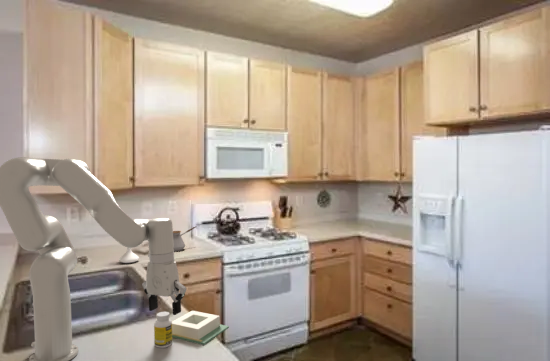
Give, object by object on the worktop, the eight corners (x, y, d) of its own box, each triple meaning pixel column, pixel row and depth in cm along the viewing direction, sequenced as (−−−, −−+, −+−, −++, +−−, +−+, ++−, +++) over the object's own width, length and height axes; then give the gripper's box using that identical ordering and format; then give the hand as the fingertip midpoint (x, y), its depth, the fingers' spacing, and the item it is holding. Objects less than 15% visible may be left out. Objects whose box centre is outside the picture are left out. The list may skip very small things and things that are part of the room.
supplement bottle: (167, 349, 117) (166, 317, 117) (151, 347, 118) (150, 316, 118) (175, 341, 122) (174, 311, 122) (159, 340, 123) (158, 310, 123)
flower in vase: (139, 263, 225) (138, 221, 224) (119, 265, 221) (117, 222, 220) (139, 258, 237) (137, 218, 237) (119, 260, 233) (118, 219, 232)
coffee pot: (171, 252, 252) (171, 230, 251) (165, 250, 261) (164, 228, 260) (201, 248, 264) (200, 226, 264) (194, 245, 274) (193, 225, 273)
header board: (160, 334, 127) (160, 322, 127) (187, 319, 140) (187, 308, 140) (204, 344, 119) (203, 332, 119) (228, 327, 132) (228, 316, 132)
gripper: (132, 258, 120) (136, 312, 120) (175, 262, 112) (178, 319, 113) (150, 253, 126) (153, 304, 127) (191, 256, 119) (194, 310, 119)
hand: (165, 311), depth 120 cm, fingers open, 9 cm apart
